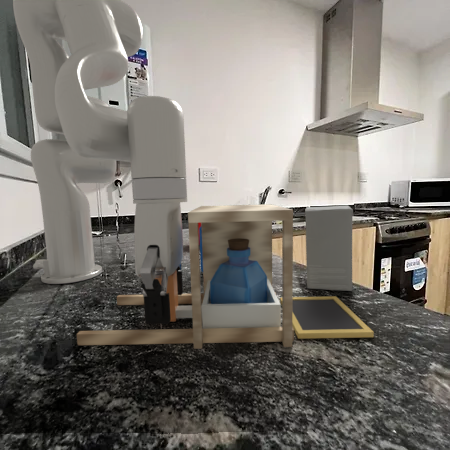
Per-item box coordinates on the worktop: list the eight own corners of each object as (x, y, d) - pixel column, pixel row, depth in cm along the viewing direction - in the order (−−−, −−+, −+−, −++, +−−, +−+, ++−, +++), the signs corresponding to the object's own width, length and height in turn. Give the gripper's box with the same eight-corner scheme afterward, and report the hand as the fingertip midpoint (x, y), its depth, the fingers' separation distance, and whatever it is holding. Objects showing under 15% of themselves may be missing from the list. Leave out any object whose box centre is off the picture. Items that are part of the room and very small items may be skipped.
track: (77, 345, 33) (76, 334, 33) (119, 303, 46) (118, 295, 46) (293, 341, 33) (294, 330, 33) (275, 300, 46) (275, 291, 45)
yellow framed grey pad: (298, 338, 33) (298, 333, 33) (280, 301, 45) (280, 297, 45) (373, 337, 33) (373, 332, 33) (335, 300, 45) (336, 296, 45)
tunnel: (193, 348, 32) (187, 212, 30) (204, 298, 47) (201, 206, 45) (292, 346, 32) (293, 209, 30) (271, 297, 47) (270, 204, 45)
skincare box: (348, 281, 54) (350, 205, 52) (352, 294, 47) (355, 207, 45) (305, 278, 57) (306, 205, 55) (304, 289, 50) (305, 207, 48)
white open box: (147, 336, 34) (143, 285, 33) (165, 303, 44) (163, 263, 44) (280, 333, 34) (280, 282, 33) (268, 301, 44) (268, 261, 43)
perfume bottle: (249, 333, 35) (247, 245, 34) (211, 322, 38) (208, 242, 37) (267, 314, 40) (266, 238, 39) (232, 306, 43) (231, 235, 42)
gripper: (151, 193, 46) (157, 287, 48) (106, 193, 29) (117, 339, 31) (194, 192, 46) (198, 286, 48) (174, 191, 28) (181, 338, 30)
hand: (166, 307), depth 39 cm, fingers open, 9 cm apart
